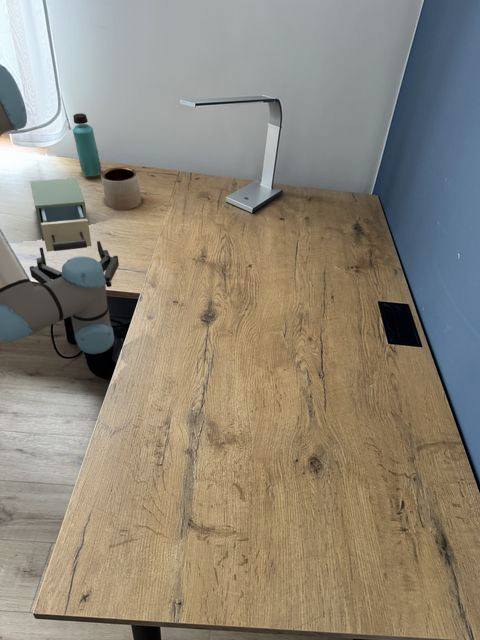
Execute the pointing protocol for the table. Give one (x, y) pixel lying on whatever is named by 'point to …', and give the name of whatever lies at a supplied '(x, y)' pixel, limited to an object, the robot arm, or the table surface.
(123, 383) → the table surface
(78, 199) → the green drawer cabinet
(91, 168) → the beverage bottle
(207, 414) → the table surface
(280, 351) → the table surface
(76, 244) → the drawer
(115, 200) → the planter
